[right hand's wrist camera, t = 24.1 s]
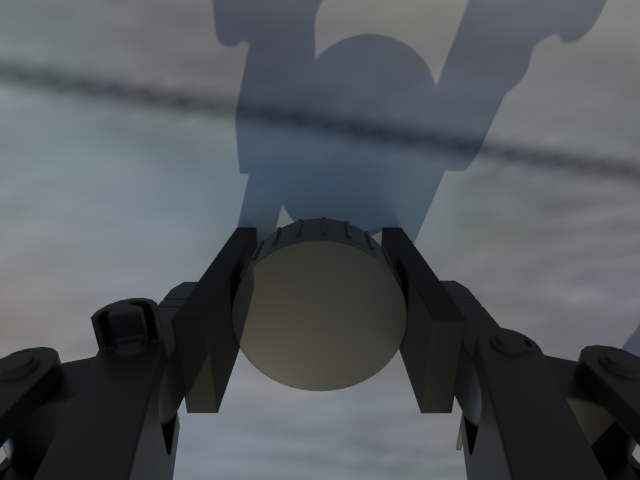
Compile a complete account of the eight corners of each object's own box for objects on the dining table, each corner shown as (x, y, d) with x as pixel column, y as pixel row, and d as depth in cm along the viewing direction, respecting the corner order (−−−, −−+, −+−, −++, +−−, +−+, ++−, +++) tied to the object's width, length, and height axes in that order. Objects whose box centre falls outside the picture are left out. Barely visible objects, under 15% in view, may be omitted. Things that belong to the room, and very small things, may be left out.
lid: (428, 273, 12) (448, 304, 10) (335, 374, 13) (337, 418, 11) (300, 183, 11) (295, 198, 9) (215, 304, 12) (196, 340, 10)
